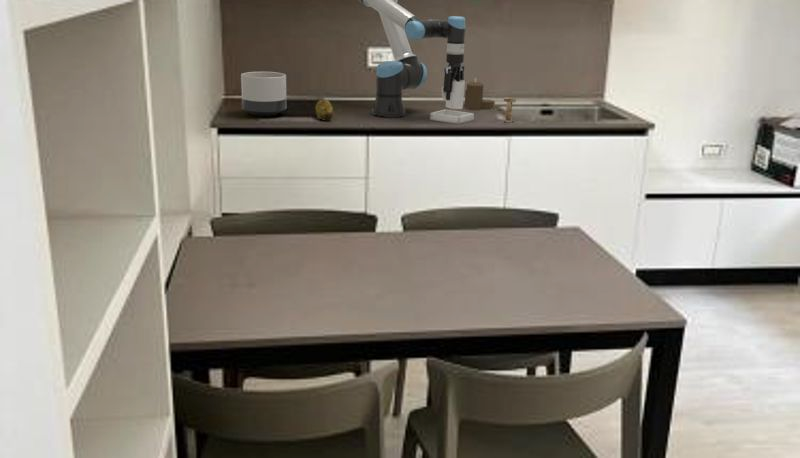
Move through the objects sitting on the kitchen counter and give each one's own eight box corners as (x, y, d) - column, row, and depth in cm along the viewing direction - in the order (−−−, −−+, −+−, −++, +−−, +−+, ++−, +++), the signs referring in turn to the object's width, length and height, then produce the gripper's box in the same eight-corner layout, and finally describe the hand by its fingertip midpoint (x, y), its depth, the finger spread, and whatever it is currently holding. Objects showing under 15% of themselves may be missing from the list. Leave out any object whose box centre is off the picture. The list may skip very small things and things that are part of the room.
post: (501, 121, 351) (502, 98, 348) (505, 120, 354) (506, 97, 351) (511, 123, 348) (513, 99, 345) (515, 121, 352) (517, 98, 348)
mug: (464, 107, 351) (465, 80, 347) (462, 109, 344) (463, 82, 341) (442, 105, 353) (443, 78, 349) (439, 108, 346) (440, 80, 343)
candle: (483, 111, 374) (485, 79, 369) (457, 108, 380) (459, 77, 375) (495, 107, 385) (497, 77, 380) (469, 104, 391) (471, 74, 387)
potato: (312, 121, 338) (312, 102, 335) (316, 116, 350) (316, 98, 347) (332, 122, 337) (332, 103, 335) (335, 116, 350) (335, 98, 347)
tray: (429, 119, 350) (430, 113, 349) (444, 115, 360) (444, 109, 359) (459, 124, 342) (459, 117, 341) (473, 120, 352) (473, 113, 351)
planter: (273, 120, 336) (273, 78, 331) (234, 116, 342) (232, 75, 337) (294, 113, 354) (293, 73, 348) (255, 109, 360) (254, 70, 354)
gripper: (451, 55, 332) (449, 110, 339) (473, 52, 347) (470, 104, 355) (436, 54, 336) (434, 108, 343) (458, 51, 351) (456, 102, 359)
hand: (452, 106), depth 349 cm, fingers closed on mug, 6 cm apart
